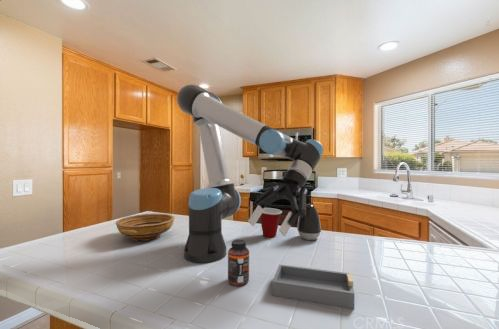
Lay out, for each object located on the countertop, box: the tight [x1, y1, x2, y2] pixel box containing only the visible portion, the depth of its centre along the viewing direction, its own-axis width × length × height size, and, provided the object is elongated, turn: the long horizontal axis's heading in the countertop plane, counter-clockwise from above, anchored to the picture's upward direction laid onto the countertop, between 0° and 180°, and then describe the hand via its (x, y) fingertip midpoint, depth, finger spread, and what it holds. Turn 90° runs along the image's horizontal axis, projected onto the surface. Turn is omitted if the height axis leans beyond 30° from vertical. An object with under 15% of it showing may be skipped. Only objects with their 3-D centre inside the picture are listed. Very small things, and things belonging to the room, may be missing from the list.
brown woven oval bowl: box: [115, 213, 176, 241], centre depth 107 cm, size 30×24×8 cm
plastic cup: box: [259, 207, 283, 239], centre depth 108 cm, size 11×11×12 cm
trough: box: [272, 264, 355, 310], centre depth 62 cm, size 19×10×5 cm, turn 73°
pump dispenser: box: [296, 203, 322, 241], centre depth 105 cm, size 10×10×15 cm
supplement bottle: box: [227, 238, 250, 287], centre depth 67 cm, size 6×6×11 cm
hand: (265, 228), depth 72 cm, fingers open, 13 cm apart
